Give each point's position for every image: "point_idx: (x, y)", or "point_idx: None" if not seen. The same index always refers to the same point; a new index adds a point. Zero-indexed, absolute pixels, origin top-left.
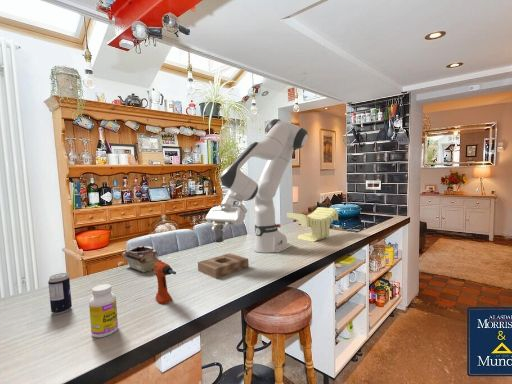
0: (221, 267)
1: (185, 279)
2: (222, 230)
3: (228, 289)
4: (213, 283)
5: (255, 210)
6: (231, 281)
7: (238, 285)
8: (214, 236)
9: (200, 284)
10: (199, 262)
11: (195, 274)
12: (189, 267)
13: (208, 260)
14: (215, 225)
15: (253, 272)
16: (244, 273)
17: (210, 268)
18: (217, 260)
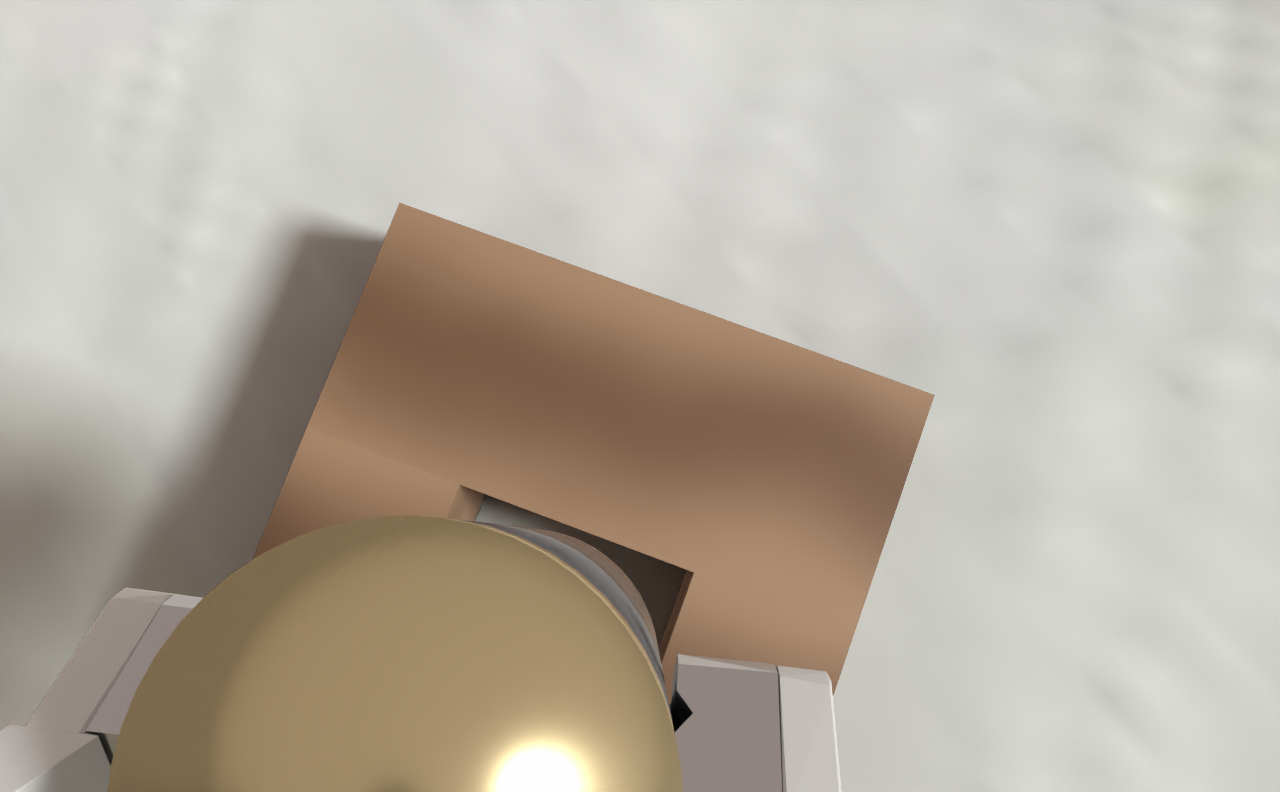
0: (354, 321)
1: (828, 68)
2: (145, 592)
3: (73, 12)
4: (363, 95)
5: None
6: (164, 239)
7: (9, 159)
8: (614, 571)
9: (510, 7)
10: (888, 388)
11: (828, 272)
12: (1155, 495)
13: (804, 547)
14: (412, 520)
15: (10, 666)
16: (128, 577)
17: (537, 257)
18: (666, 648)
